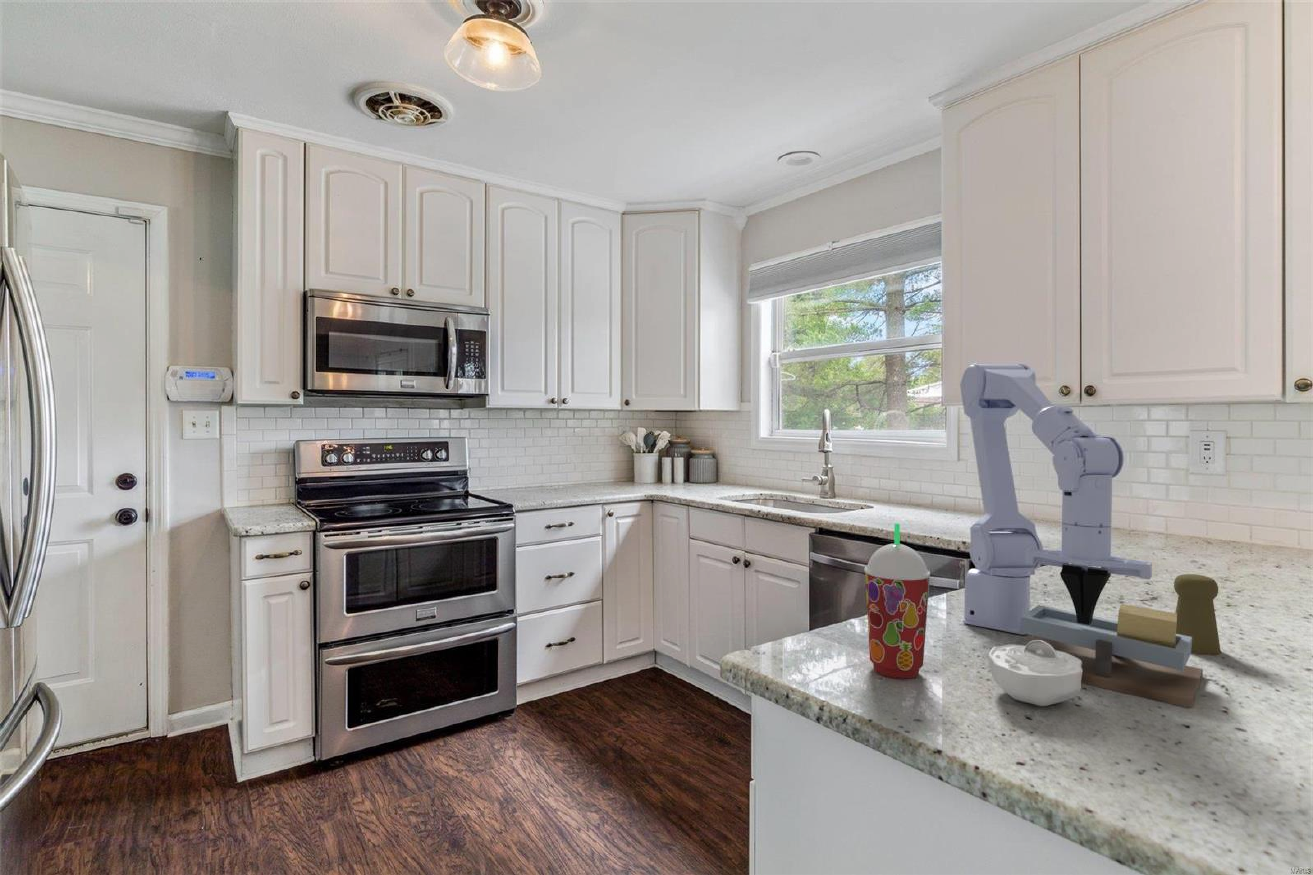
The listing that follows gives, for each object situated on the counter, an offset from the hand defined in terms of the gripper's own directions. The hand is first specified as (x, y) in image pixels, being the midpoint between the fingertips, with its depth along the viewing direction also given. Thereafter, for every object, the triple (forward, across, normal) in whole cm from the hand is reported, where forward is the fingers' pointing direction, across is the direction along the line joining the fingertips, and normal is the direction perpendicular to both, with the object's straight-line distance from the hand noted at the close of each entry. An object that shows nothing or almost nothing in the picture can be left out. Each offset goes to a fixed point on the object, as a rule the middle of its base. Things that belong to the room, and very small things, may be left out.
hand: (1084, 622), depth 91 cm
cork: (+6, +10, +21) cm, 24 cm away
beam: (+2, +2, 0) cm, 3 cm away
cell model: (+6, -2, -17) cm, 18 cm away
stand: (+6, +3, 0) cm, 7 cm away
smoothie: (+6, -18, -20) cm, 28 cm away
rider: (+1, +7, 0) cm, 7 cm away
